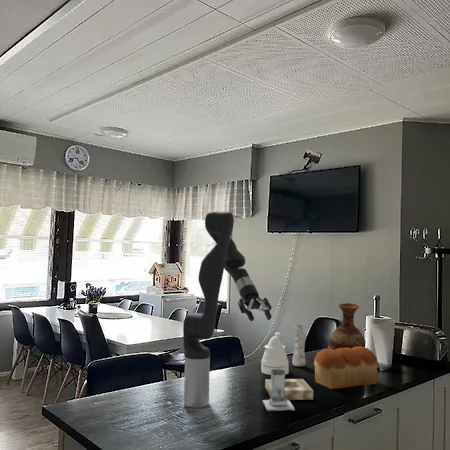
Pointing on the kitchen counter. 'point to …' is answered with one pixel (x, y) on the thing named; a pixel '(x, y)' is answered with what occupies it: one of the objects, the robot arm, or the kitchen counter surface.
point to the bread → (345, 367)
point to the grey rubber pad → (273, 408)
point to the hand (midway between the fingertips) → (261, 319)
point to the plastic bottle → (299, 347)
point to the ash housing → (294, 389)
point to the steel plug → (278, 388)
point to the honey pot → (274, 356)
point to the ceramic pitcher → (347, 330)
